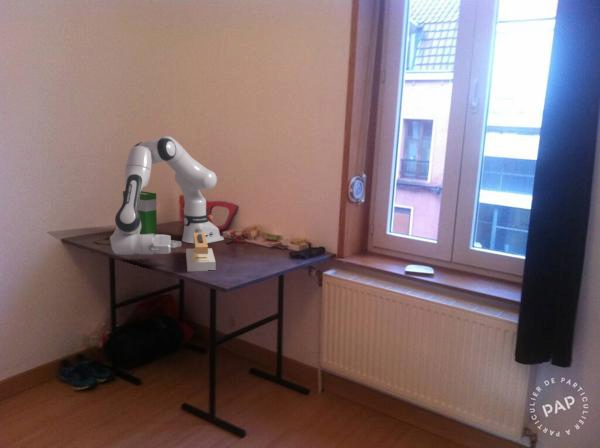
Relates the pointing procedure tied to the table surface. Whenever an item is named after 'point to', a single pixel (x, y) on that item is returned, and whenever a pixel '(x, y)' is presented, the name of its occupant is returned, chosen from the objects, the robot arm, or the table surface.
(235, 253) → the table surface
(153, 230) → the hardback book
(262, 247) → the table surface
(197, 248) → the light wooden bar
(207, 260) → the two-drawer filing cabinet
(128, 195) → the robot arm
